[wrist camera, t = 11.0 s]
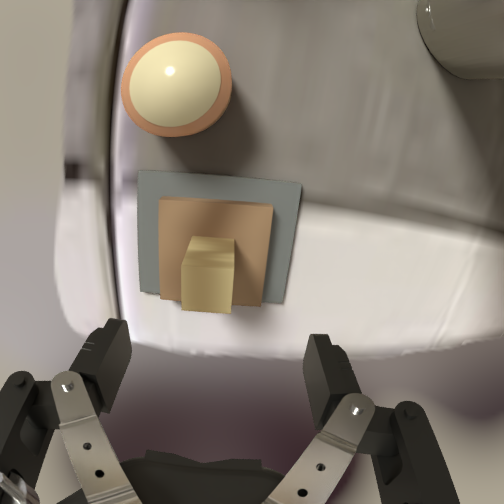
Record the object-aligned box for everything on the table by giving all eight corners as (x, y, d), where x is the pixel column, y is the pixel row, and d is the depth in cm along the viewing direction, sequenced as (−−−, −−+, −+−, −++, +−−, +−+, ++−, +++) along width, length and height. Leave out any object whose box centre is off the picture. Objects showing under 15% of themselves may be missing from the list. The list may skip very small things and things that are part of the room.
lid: (271, 203, 22) (284, 230, 17) (259, 298, 25) (266, 346, 20) (162, 196, 22) (137, 220, 16) (163, 291, 25) (145, 337, 19)
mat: (300, 183, 22) (301, 184, 22) (281, 300, 26) (282, 303, 26) (140, 170, 21) (138, 171, 21) (141, 288, 25) (140, 291, 24)
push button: (237, 52, 18) (237, 34, 14) (227, 138, 21) (224, 140, 17) (147, 50, 18) (128, 34, 13) (138, 134, 20) (115, 136, 16)
